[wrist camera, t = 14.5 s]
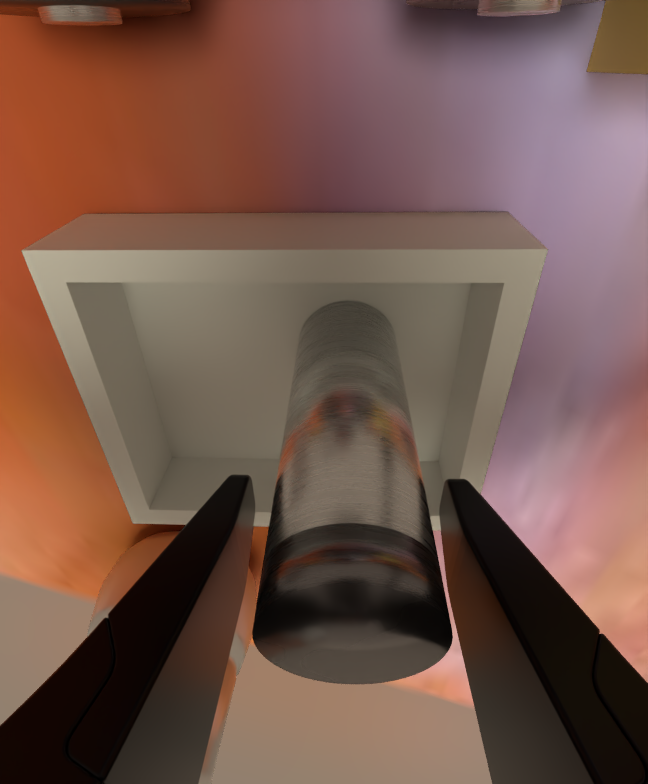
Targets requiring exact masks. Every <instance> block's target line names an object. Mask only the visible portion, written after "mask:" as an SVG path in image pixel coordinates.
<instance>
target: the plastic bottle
mask: <svg viewBox="0 0 648 784" xmlns="http://www.w3.org/2000/svg"><path fill="white" fill-rule="evenodd" d="M179 532H180V531H168V532H162V533H157V534H154V535H151V536H148V537H147V538H145V539H143V540H141V541H140V542H138V543H137V544H135V545H133V546H132V547H130V548H129V549H127V550H126V551H125V552H124V553H123V554H122V555H121V556H120V558H119V559H118V561H117V562H116V564H115V565H114V567H113V568H112V570H111V571H110V573H109V574H108V576H107V577H106V579H105V580H104V582H103V584H102V586H101V588H100V591H99V595H98V598H97V601H96V604H95V608H94V611H93V614H92V617H91V621H90V625H89V630H88V635H87V637H88V636H89V635H90V633H91V632H92V631H93V630H94V629H95V628H96V627H97V625H98V624H99V623H100V622H101V621H102V620H103V619H104V618H105V617H107V618H108V613H109V612H110V611H111V610H112V609H113V607H114V606H115V605H116V604H117V603H118V602H119V601H120V599H121V598H122V597H123V596H124V595H125V594H126V593H127V592H128V590H129V589H130V588H131V587H132V586H133V585H134V584H135V582H136V581H137V580H138V579H139V578H140V577H141V576H142V574H143V573H144V572H145V571H146V570H147V569H148V568H149V566H150V565H151V564H152V563H153V562H154V561H155V560H156V558H157V557H158V556H159V555H160V554H161V553H162V552H163V550H164V549H165V548H166V547H167V546H168V545H169V544H170V542H171V541H172V540H173V539H174V538H175V537H176V536H177V535H178V533H179ZM255 612H256V582H255V579H254V576H253V574H252V572H251V570H250V568H249V567H248V575H247V582H246V587H245V592H244V597H243V601H242V605H241V609H240V613H239V617H238V622H237V626H236V630H235V634H234V638H233V642H232V646H231V651H230V655H229V659H228V663H227V667H226V671H225V675H224V680H223V684H222V688H221V692H220V696H219V700H218V705H217V709H216V713H215V717H214V721H213V725H212V729H211V734H210V738H209V742H208V746H207V750H206V754H205V758H204V763H203V767H202V771H201V775H200V779H199V783H198V784H212V777H213V772H214V768H215V764H216V760H217V756H218V752H219V747H220V743H221V739H222V735H223V732H224V727H225V723H226V718H227V715H228V711H229V707H230V703H231V699H232V695H233V691H234V687H235V682H236V676H237V675H238V674H239V672H240V669H241V667H242V664H243V661H244V658H245V656H246V653H247V650H248V647H249V644H250V640H251V636H252V630H253V624H254V618H255Z"/></svg>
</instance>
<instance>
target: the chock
mask: <svg viewBox="0 0 648 784" xmlns="http://www.w3.org/2000/svg"><path fill="white" fill-rule="evenodd" d="M587 72H603V73H628V74H648V0H609V1H606V2H605V6H604V9H603V13H602V17H601V20H600V24H599V28H598V31H597V35H596V39H595V42H594V46H593V50H592V53H591V57H590V61H589V64H588V68H587Z"/></svg>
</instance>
